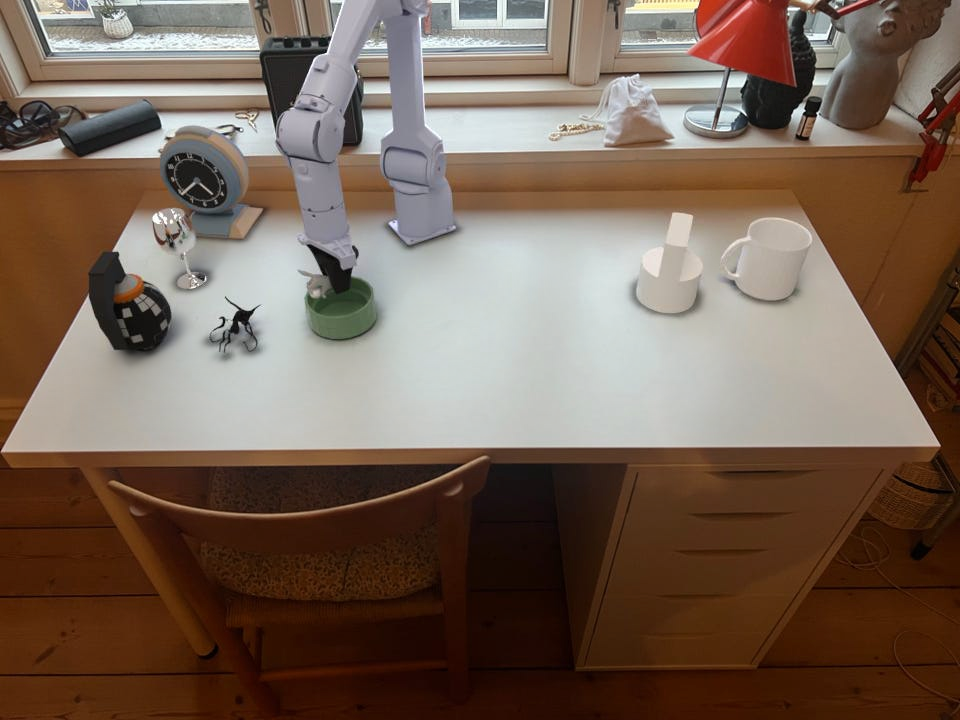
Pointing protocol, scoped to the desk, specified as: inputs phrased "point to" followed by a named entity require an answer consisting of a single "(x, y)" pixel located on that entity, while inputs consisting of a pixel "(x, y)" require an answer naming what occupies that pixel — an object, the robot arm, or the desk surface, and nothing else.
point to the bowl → (342, 311)
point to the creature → (238, 317)
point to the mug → (769, 258)
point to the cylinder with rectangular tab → (670, 271)
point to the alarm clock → (209, 181)
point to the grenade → (127, 306)
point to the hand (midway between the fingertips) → (337, 284)
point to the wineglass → (177, 241)
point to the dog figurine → (317, 284)
